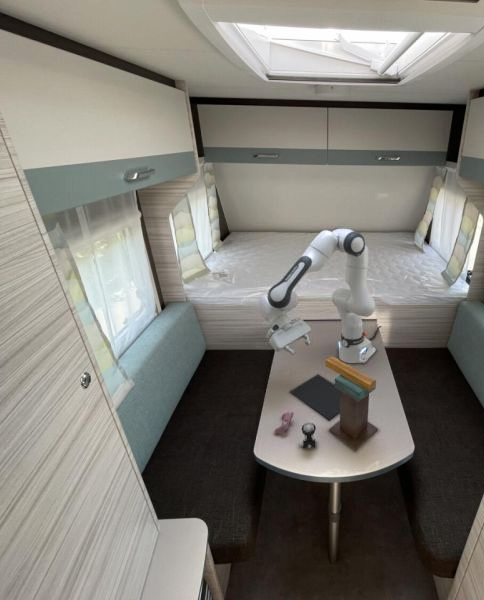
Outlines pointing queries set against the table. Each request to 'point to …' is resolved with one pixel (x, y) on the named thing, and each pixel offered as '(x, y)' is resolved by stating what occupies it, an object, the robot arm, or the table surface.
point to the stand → (353, 413)
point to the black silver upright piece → (308, 435)
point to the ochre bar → (350, 373)
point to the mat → (320, 396)
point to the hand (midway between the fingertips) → (301, 348)
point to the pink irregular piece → (284, 422)
